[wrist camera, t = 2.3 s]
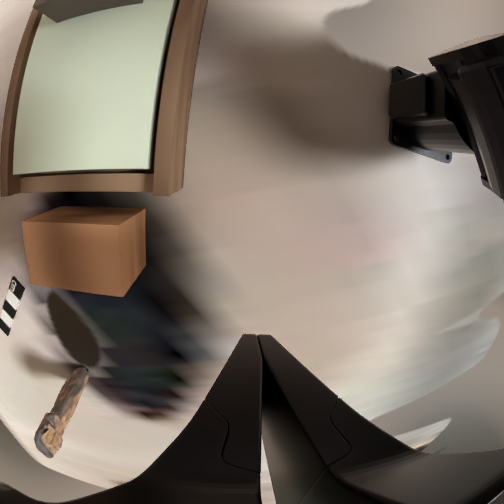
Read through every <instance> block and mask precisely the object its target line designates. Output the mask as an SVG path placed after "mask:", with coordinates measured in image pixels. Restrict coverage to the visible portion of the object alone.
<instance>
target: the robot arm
mask: <svg viewBox="0 0 504 504" xmlns="http://www.w3.org/2000/svg"><path fill="white" fill-rule="evenodd" d="M428 59H429V61H430V63H431V64H432V66H434V67H435V68H436V70H437V71H433V72H430V73H427V74H424V73H422V74H419V75H418V74H415V73H413V72H411V71H409V70H406V69H404V68H402V67H399V66H396V67H394V68H392V81H391V85H390V101H389V116H390V128H389V142H390V144H391V145H393V146H396V147H399V148H402V149H406V150H409V151H412V152H415V153H418V154H421V155H424V156H427V157H430V158H433V159H436V160H439V161H441V162H444V163H450V162H451V159H452V152H458V153H469V154H475V156H476V159H477V162H478V166H479V169H480V172H481V175H482V176H481V180H482V183H483V185H484V186H485V187H487V188H488V189H490V190H491V191H493V192H494V193H495V194H496V195H498V196H499V197H500V198H501V199H503V201H504V33H502V34H494V35H488V36H483V37H480V38H477V39H474V40H471V41H468V42H465V43H462V44H459V45H457V46H455V47H452V48H450V49H448V50H445V51H443V52H441V53H439V54H436V55H434V56H432V57H430V58H428ZM397 71H399V73H400V75H399V74H398V73H397ZM394 137H396V138H397V142H395V141H394ZM446 155H447V159H446ZM261 435H262V439H263V444H264V449H265V453H266V458H267V463H268V468H269V472H270V477H271V482H272V486H273V491H274V495H275V500H276V504H504V448H503V449H498V450H492V451H484V452H472V453H456V454H429V453H424V452H420V451H417V450H415V449H413V448H411V447H409V446H407V445H406V444H404V443H402V442H401V441H399V440H397V439H396V438H394V437H393V436H391V435H389V434H388V433H386V432H385V431H383V430H382V429H380V428H379V427H377V426H376V425H374V424H373V423H371V422H370V421H368V420H367V419H366V418H364V417H363V416H361V415H360V414H359V413H357V412H356V411H355V410H354V409H352V408H351V407H350V406H349V405H348V404H346V403H345V402H344V401H343V400H342V399H341V398H338V396H337V395H336V394H335V393H334V392H332V391H331V390H330V389H329V388H328V387H327V386H326V385H325V384H323V383H322V382H321V381H320V380H319V379H318V378H317V377H316V376H315V375H313V374H312V373H311V372H310V371H309V370H308V369H307V368H306V367H305V366H303V365H302V364H301V363H300V362H299V361H298V360H297V359H296V358H295V357H294V356H293V355H292V354H290V353H289V352H288V351H287V350H286V349H285V348H284V347H283V346H282V345H281V344H280V343H279V342H278V341H277V340H276V339H275V338H273V337H272V336H271V335H255V334H243V335H242V337H241V338H240V340H239V342H238V344H237V345H236V347H235V349H234V351H233V352H232V354H231V356H230V357H229V359H228V361H227V363H226V364H225V366H224V368H223V369H222V371H221V373H220V374H219V376H218V378H217V379H216V381H215V383H214V384H213V386H212V388H211V390H210V391H209V393H208V394H207V396H206V398H205V400H204V401H203V402H202V404H201V406H200V407H199V409H198V411H197V412H196V413H195V415H194V416H193V418H192V419H191V421H190V422H189V423H188V425H187V426H186V427H185V428H184V430H183V431H182V432H181V433H180V434H179V436H178V437H177V438H176V439H175V440H174V441H173V442H172V443H171V444H170V445H169V446H168V448H167V449H166V450H165V451H164V452H163V453H162V454H161V455H160V456H159V457H158V458H157V459H156V460H155V461H154V462H153V463H152V464H151V465H150V466H149V467H148V468H147V469H146V470H145V471H144V472H143V473H142V474H140V475H139V476H138V477H136V478H135V479H133V480H131V481H129V482H127V483H124V484H121V485H119V486H116V487H113V488H110V489H107V490H105V491H102V492H98V493H95V494H92V495H89V496H85V497H82V498H78V499H75V500H70V501H66V502H59V503H49V502H43V501H38V500H35V499H33V498H30V497H28V496H26V495H25V494H23V493H21V492H19V491H18V490H16V489H14V488H13V487H11V486H9V485H7V484H5V483H4V482H1V481H0V504H262V500H261V490H260V473H261Z"/></svg>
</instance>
